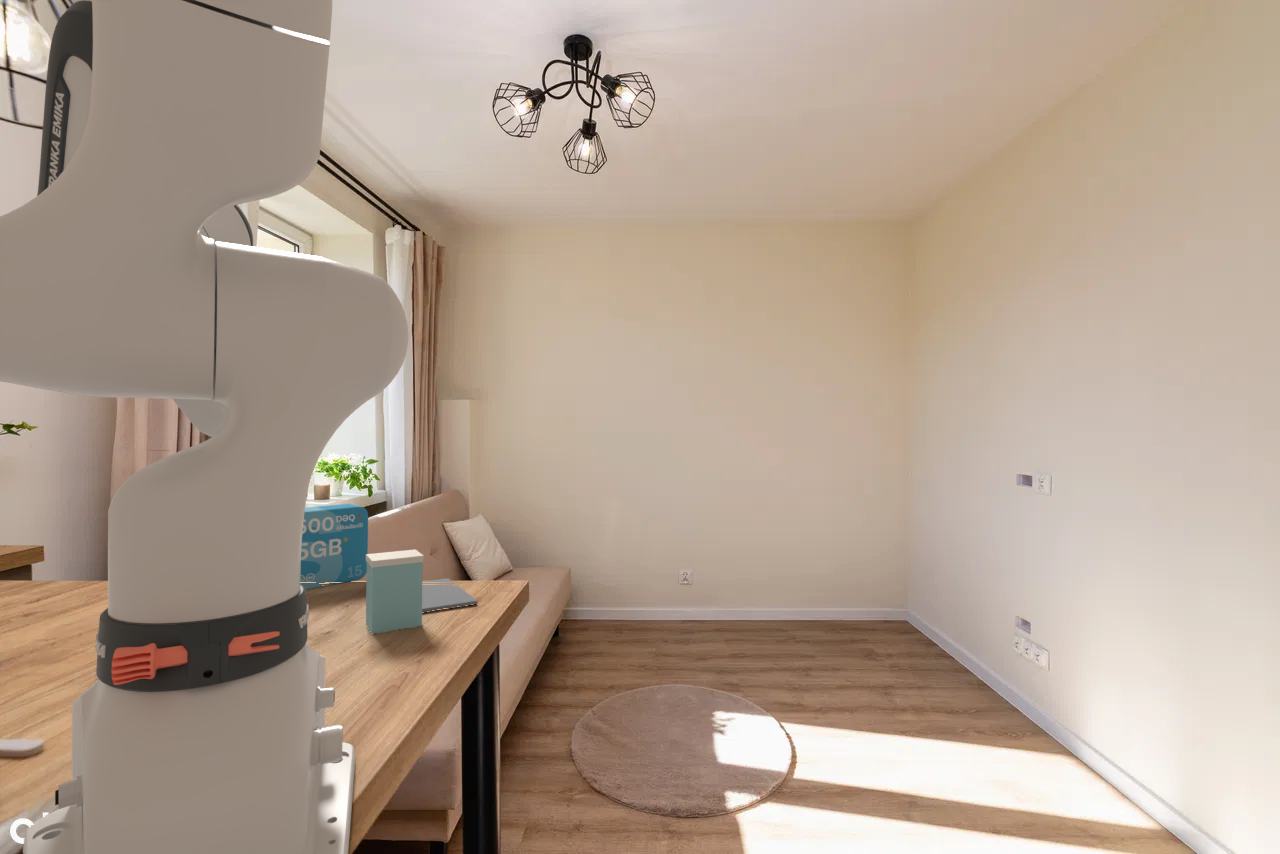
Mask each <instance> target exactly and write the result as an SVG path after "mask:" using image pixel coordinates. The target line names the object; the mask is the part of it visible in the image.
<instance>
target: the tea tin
mask: <svg viewBox="0 0 1280 854" xmlns="http://www.w3.org/2000/svg"><path fill="white" fill-rule="evenodd" d="M424 556H425V555H424V554H423V553H421V552H419V551H418V550H417V549H408V550H407V549H406V550H396V551H387V552H386V551H385V552H377V553H376V552H375V553H368V554H366V561H367V573H366V581H365V582H366V584H365V585H366V590H365V594H366V595H365V597H366V598H365V626H366V625H367V626H368V627H367V626H366V627H367V629H368V628H369V629H368V630H369V632H370V631H371V632H370V634H371V633H376V634H381V633H380V632H382V633H387V632H386V631H388V632H392V631H391V630H395V631H399V630H398V629H401V630H405V628H407V629H410V628H411V629H412V628H418V627H417V626H419V627H423V613H422V581H424V579H423V576H424V575H423V572H424V569H423V567H424V566H423V564H424V561H425V557H424Z"/></svg>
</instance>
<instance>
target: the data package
mask: <svg viewBox="0 0 1280 854" xmlns="http://www.w3.org/2000/svg"><path fill="white" fill-rule="evenodd" d="M368 546H369V513H368V510H367V509H366V508H365V507H363V506H359V505H356V504H351V503H344V504H343V503H342V504H341V503H340V504H332V505H331V504H329V505H319V506H310V507H305V512H304V521H303V533H302V547H301V579H300V582H316V583H300V585H302V586H303V587H304V588H305V589H306V591H307V590H312V589H316V588H323V587H325V586H322V585H329V586H332V585H331V584H334V585H339V584H341V583H329V584H319V583H325V582H345V583H350V582H354V581H355V582H356V581H360V580H361V579H363V578H364V577H365V576H367V561H366V554H369V549H368V548H369V547H368Z"/></svg>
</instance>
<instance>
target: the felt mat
mask: <svg viewBox="0 0 1280 854" xmlns="http://www.w3.org/2000/svg"><path fill="white" fill-rule="evenodd" d="M422 582H453V581H452V580H451V579H450V578H449V577H447V578H441V579H440V578H438V579H433V580H423V581H422ZM422 584H451V585H422V612H427V611H432V610H437V609H443V608H452V607H457V606H465V605H471V604H477V605H478V600H477V599H476V598H474V596H472V595H471V594H469V593H468V592H467V591H465V590H464V589H463V588H461V587H460V586H459V585H458V586H452V584H456V583H455V582H454V583H422ZM427 613H428V612H427Z"/></svg>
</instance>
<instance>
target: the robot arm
mask: <svg viewBox="0 0 1280 854" xmlns="http://www.w3.org/2000/svg"><path fill="white" fill-rule="evenodd" d="M332 14H333V0H74V1H73V3H72V4H71V5H70V6H69V7H68V8H66V10H65V11H64V13H63V14H62V15H61V16H60V17H59V19H58V20H57V22H56V25H55V28H54V31H53V33H52V38H51V43H50V48H49V55H48V63H47V70H46V80H45V81H46V82H45V83H46V84H45V95H44V107H43V121H42V134H41V146H40V149H41V150H40V161H39V162H40V163H39V173H38V174H39V175H38V187H37V195H36V197H34V198H32V199H31V200H30V201H28V202H26V203H24V204H23V205H21V206H20V207H17V208H16V209H13V210H12V211H9V212H7V213H5V214H2V215H0V382H2V383H7V384H14V385H18V386H24V387H29V388H34V389H40V390H45V391H52V392H58V393H65V394H71V395H76V396H84V397H89V398H116V399H117V398H121V399H123V398H126V399H160V400H161V399H165V400H167V399H168V400H172V401H173V402H174V403H175V405H176V406H177V407H178V408H179V409H180V411H181V412H182V413H183V414H184V416H185V417H186V418H187V420H188V421H189V422H190V423H191V424H192V425H193V426H194V428H196V429H197V430H198V431H199V432H200V433H202V434H204V435H207V436H208V437H210V438H207V440H204V441H202V442H199V443H198V444H195V445H192V446H190V447H187V448H184V449H181V450H180V451H177V452H175V453H172V454H169V455H167V456H165V457H163V458H161V459H158V460H157V461H155V462H152V463H150V464H148V465H146V466H144V467H143V468H141V469H139V470H137V471H136V472H134V473H133V474H132V475H130V476H129V477H128V478H126V479H125V480H124V481H123V482H122V484H120V486H119V487H118V489H117V490H116V491H115V493H114V494H113V497H112V499H111V501H110V503H109V506H108V507H109V508H108V509H107V510H108V511H107V607H106V609H104V610H103V611H102V612H101V613H100V615H99V622H98V623H99V624H98V630H97V633H96V635H95V652H96V669H95V670H96V671H95V672H96V673H95V674H96V677H97V679H96V681H95V682H93V684H92V685H91V686H89V687H88V688H87V689H86V690H84V691H83V692H82V693H81V694H80V696H78V697H77V698H75V699H74V700H73V701H72V702H71V781H68V782H63V783H60V784H58V789H57V790H54V805H55V806H58V809H55V810H54V811H52V812H50V813H48V814H45V815H44V816H45V817H44V816H42V817H41V818H38V819H37V820H35V821H34V822H33V824H34V825H31V824H30V825H31V827H30V828H28V827H27V828H26V830H25V834H24V839H23V845H24V846H23V847H22V854H349V848H350V836H351V821H352V809H353V808H352V806H353V797H354V796H353V795H354V785H355V784H354V783H355V782H354V781H355V768H356V753H355V747H354V745H353V744H351V743H349V742H344V741H343V735H344V734H343V730H344V729H343V726H344V725H343V724H339V723H337V724H332V725H327V726H326V709H327V708H332V707H335V706H334V705H335V699H336V698H335V692H336V691H335V687H334V686H331V687H330V686H329V687H326V656H325V655H322V654H320V652H318V651H316V650H314V649H313V648H312V647H310V646H309V645H308V644H307V643H308V642H307V641H308V637H309V636H308V621H309V618H310V613H309V612H310V611H309V609H310V608H309V603H307V602H308V601H307V598H308V597H307V590H306V589H305V588H304V587H303V586H302V585H300V579H301V547H302V533H303V521H304V512H305V508H306V501H307V496H308V490H309V487H310V482H311V479H312V475H313V473H314V470H315V468H316V465H317V463H318V461H319V459H320V457H321V454H322V453H323V451H324V449H325V447H326V446H327V444H328V442H329V441H330V439H331V438H332V436H334V434H335V432H336V431H337V430H338V429H339V428H340V427H341V426H342V425H343V423H344V422H345V421H346V420H347V419H348V418H349V417H350V416H351V415H352V414H353V413H354V412H355V411H357V410H358V409H359V408H360V407H362V406H363V405H364V404H365V403H366V402H368V401H369V400H371V399H373V398H374V397H376V396H377V395H380V393H382V392H383V391H384V390H386V388H387V387H388V386H390V384H391V383H392V382H393V380H394V379H395V378H396V376H397V375H398V373H399V372H400V369H401V368H402V367H403V364H404V361H405V358H406V355H407V351H408V348H409V347H408V346H409V345H408V344H409V325H408V321H407V320H408V319H407V316H406V313H405V310H404V308H403V305H402V303H401V301H400V299H399V297H398V295H397V293H396V292H395V291H394V290H393V288H392V286H391V285H390V284H389V283H388V281H386V279H384V277H382V276H379V275H377V274H373V273H371V272H368V271H365V270H363V269H360V268H358V267H354V266H352V265H348V264H345V263H341V262H339V261H335V260H332V259H329V258H325V257H323V256H319V255H313V254H312V255H311V254H305V253H299V252H292V251H284V250H277V249H271V248H266V247H265V248H264V247H258V246H254V235H253V231H252V227H251V225H250V223H249V220H248V218H247V217H246V215H245V213H244V212H243V210H242V209H241V207H240V206H239V205H243V204H247V203H250V202H254V201H255V202H256V201H260V200H265V199H268V198H272V197H275V196H278V195H281V194H283V193H286V192H288V191H290V190H292V189H293V188H295V187H297V186H299V185H300V184H301V183H303V182H304V181H305V180H306V179H307V178H308V177H309V176H310V174H311V173H312V172H313V170H314V169H315V167H316V165H317V163H318V161H319V158H320V155H321V143H322V131H323V122H324V121H323V120H324V111H325V109H324V108H325V99H326V92H327V91H326V90H327V77H328V68H329V67H328V66H329V58H330V57H329V56H330V46H331V44H330V42H329V41H331V34H332V33H331V30H332V18H333V17H332Z"/></svg>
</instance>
